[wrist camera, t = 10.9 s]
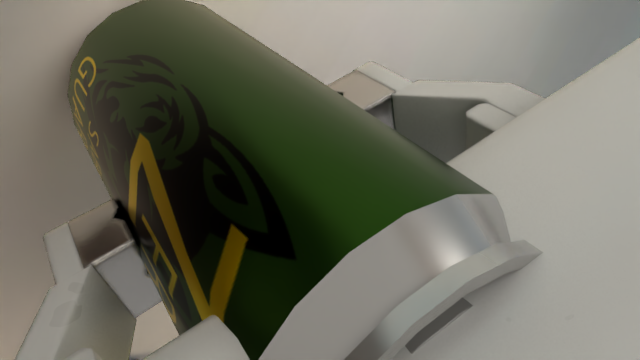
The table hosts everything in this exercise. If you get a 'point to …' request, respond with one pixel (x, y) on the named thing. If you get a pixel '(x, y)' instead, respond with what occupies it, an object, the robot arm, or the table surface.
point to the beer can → (277, 193)
